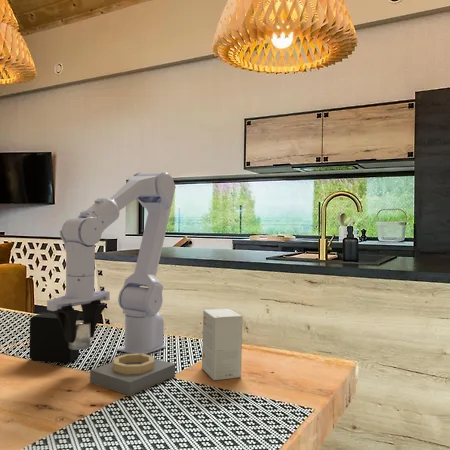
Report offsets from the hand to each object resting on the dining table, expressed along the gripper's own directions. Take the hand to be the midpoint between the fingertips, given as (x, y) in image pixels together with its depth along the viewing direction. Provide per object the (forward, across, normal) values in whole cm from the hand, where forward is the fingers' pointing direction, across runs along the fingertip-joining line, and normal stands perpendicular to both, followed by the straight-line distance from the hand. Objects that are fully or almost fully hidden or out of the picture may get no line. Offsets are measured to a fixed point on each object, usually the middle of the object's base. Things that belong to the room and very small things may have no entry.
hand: (79, 339), depth 97 cm
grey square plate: (+7, -4, +12) cm, 14 cm away
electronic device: (+7, -2, -11) cm, 13 cm away
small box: (+7, -18, +24) cm, 31 cm away
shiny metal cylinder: (+2, 0, 0) cm, 2 cm away
